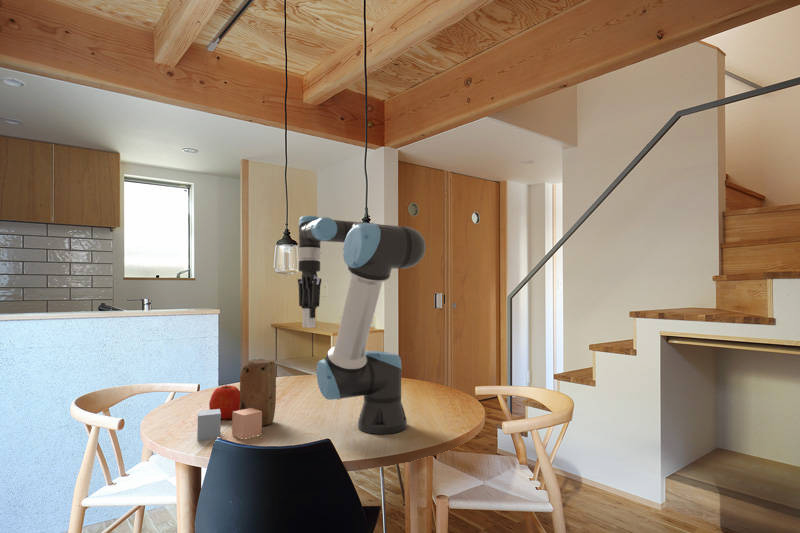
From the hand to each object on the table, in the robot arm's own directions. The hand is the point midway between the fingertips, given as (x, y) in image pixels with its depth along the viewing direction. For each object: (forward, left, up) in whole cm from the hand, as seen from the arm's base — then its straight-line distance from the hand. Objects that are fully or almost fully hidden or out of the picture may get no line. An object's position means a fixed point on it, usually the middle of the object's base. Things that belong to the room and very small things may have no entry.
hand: (308, 327), depth 164 cm
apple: (+12, +24, -30) cm, 40 cm away
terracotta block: (-12, +26, -30) cm, 41 cm away
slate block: (-6, +35, -30) cm, 46 cm away
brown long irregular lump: (-2, +19, -30) cm, 35 cm away
